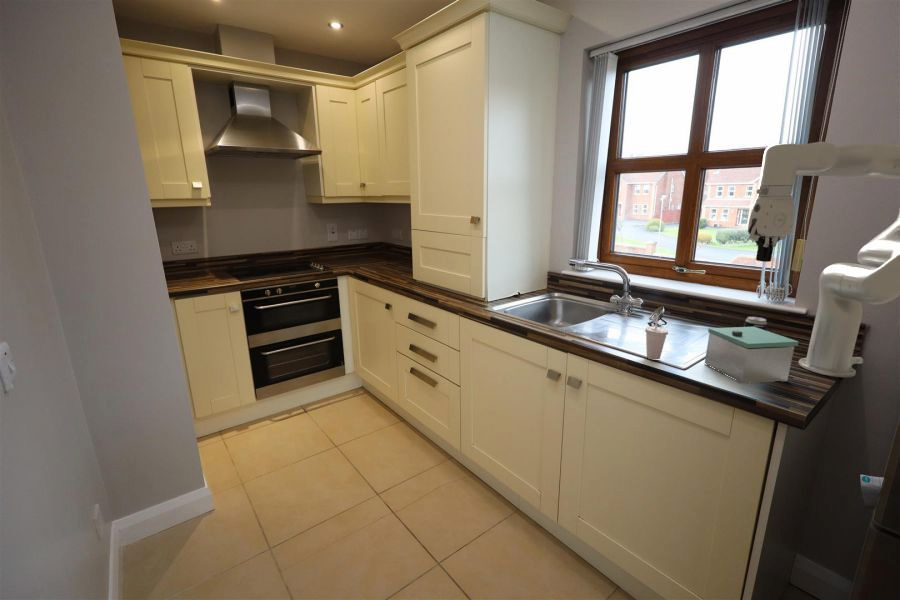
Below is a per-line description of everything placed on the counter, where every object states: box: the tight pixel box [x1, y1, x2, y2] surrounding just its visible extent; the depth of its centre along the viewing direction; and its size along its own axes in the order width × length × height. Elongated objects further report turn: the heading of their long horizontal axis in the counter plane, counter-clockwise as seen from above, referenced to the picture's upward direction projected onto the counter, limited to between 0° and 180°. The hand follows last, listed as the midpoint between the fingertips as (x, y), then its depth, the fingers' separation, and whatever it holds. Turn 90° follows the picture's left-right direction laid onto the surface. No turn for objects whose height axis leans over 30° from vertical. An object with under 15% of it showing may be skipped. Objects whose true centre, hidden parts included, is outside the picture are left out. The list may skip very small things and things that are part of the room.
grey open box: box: [704, 332, 795, 384], centre depth 119 cm, size 14×14×10 cm
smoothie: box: [644, 314, 669, 359], centre depth 129 cm, size 6×6×14 cm
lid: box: [707, 326, 799, 348], centre depth 117 cm, size 15×14×2 cm
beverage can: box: [743, 316, 768, 331], centre depth 133 cm, size 6×6×12 cm
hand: (763, 260), depth 115 cm, fingers closed
